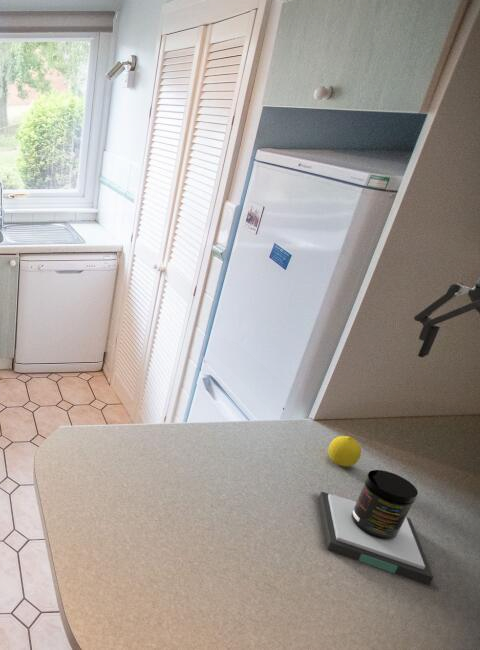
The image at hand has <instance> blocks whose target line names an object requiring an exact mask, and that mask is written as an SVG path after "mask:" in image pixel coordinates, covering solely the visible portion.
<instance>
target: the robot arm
mask: <svg viewBox="0 0 480 650" xmlns="http://www.w3.org/2000/svg"><path fill="white" fill-rule="evenodd" d="M464 294H467V296H468V298H469V300H470V303H468V304H465V305H463V306H461V307H458V308H456V309H453V310H451V311H448V312H445V313H444V314H441V315H438V316H436V317H434V318H431V317H430V316H431V315H432V314H434V313H436V312H437V311H438V310H439V309H441V308H443V307H444V306H445V305H446V304H448V303H449V302H451V301H452V300H453V299H456V297H460V296H463V295H464ZM473 310H475V311H476V312H477V313H478V314H480V275H479V276H478V278H477V281H476V282H475V285H474V286H473V287H470V286H466V285H464V284H463V282H457V283H456V282H455V283H453V284H451V285H450V286H449V287H448V289H447V290H446V292H445V294H443V295H441V297H439V298H438V299H436V300H435V301H433V302H432V303H431V304H430V305H428V306H427V307H425V308H424V309H423V310H421V311H420V312H419V313H417V314H416V315H415V316H414V317H413V320H414V321H415V322H419V323H421V324H422V328H421V330H420V333H419V336H418V340H420V341H423V342H422V345H421V346H420V349H419V352H418V354H417V357H419V358H424V357H426V356H428V355H429V354H430V351H431V349H432V347H433V344H434V342H435V340H436V338H437V335H438V334H439V330H440V329H441V327H440V326H438V324H441V323H443V322H445V321H448V320H451V319H453V318H455V317H458V316H460V315H463V314H466V313H468V312H471V311H473Z"/></svg>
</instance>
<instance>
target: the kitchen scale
mask: <svg viewBox="0 0 480 650" xmlns="http://www.w3.org/2000/svg"><path fill="white" fill-rule="evenodd" d="M317 498H318V502H319V503H318V504H319V510H320V515H321V521H322V527H323V533H324V539H325V545H326V550H327V551H330V552H333V553H336V554H339V555H342V556H344V557H347V558H350V559H352V560H356V561H358V562H361V563H363V564H366V565H368V566H372V567H375V568H377V569H381V570H383V571H387V572H389V573H392V574H396V575H399V576H402V577H405V578H407V579H411V580H413V581H416V582H419V583H422V584H425V585H427V586H430V584H431V582H432V581H433V579H434V576H433V574H432V570H431V568H430V565H429V563H428V560H427V558H426V555H425V553H424V550H423V548H422V545H421V543H420V540H419V537H418V535H417V533H416V530H415V527H414V525H413V522H412V519H411V518H410V517H407V516H406V518H405V520H404V522H403V524H402V526H401V528H400V530H399V532H398V534H397V536H396V537H395V538H393V539H379V538H376V537H373V536H371V535H369V534H367V533H365V532H364V531H362V530H361V529H360V528H358V527H357V525H356V524H355V523H354V522H353V520H352V516H351V514H352V511H353V509H354V506H355V504H356V502H357V501H355V500H352V499H348V498H345V497H341V496H338V495H335V494H332V493H327V492H325V491H320V494H319V495H318V497H317Z"/></svg>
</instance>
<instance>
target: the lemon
mask: <svg viewBox="0 0 480 650" xmlns="http://www.w3.org/2000/svg"><path fill="white" fill-rule="evenodd" d="M327 452H328V456H329V458H330V460H331V461H332V462H333V463H335V464H336V465H338V466H341V467H351V466H354V465H356V464H357V463H358V462H359V460H360V459H361V456H362V448H361V445H360V443H359V442H358V441H357V440H356V439H354V438H353V437H351V436H347V435H339V436H337V437H335V438H333V440H332V441H331V442H330V444H329V446H328V450H327Z"/></svg>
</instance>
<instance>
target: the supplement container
mask: <svg viewBox="0 0 480 650" xmlns="http://www.w3.org/2000/svg"><path fill="white" fill-rule="evenodd" d="M418 494H419V492H418V489H417V488H416V486H415V485H414V484H413V483H411V482H410V481H409V480H407V479H406V478H405V477H403V476H400V475H398V474H396V473H394V472H391V471H388V470H383V469H373V470H370V471H369V472H368V473H367V475H366V477H365V479H364V483H363V485H362V488H361V490H360V493H359V494H358V497H357V499H356V501H355V502H356V504H355V506H354V509H353V511H352V514H351V516H352V520H353V522H354V523H355V524H356V525H357V527H358V528H360V529H361V530H362V531H364V532H365V533H367V534H369V535H371V536H373V537H376V538H379V539H393V538H395V537H396V536H397V534H398V532H399V530H400V528H401V526H402V524H403V522H404V520H405V518H406V517H407V516H408V514H409V512H410V510H411V507H412V506H413V504H414V503H415V501H416V499H417V497H418Z"/></svg>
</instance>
